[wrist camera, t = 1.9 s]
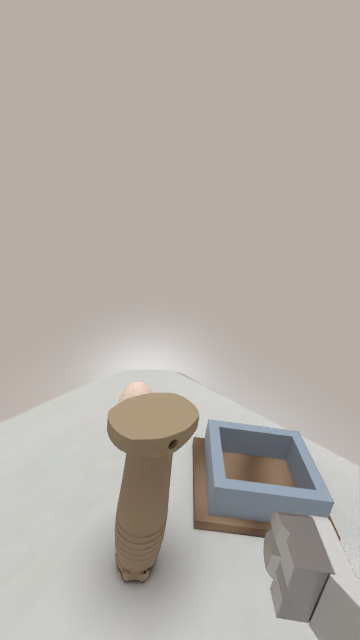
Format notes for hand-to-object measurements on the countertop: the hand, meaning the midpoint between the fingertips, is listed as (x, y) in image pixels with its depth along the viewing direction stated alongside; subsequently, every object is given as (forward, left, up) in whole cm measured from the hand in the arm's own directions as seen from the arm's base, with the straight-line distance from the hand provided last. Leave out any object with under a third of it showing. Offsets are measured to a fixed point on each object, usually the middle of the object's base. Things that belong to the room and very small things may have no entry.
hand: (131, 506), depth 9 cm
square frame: (-12, -22, -20) cm, 32 cm away
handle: (0, -12, -20) cm, 24 cm away
